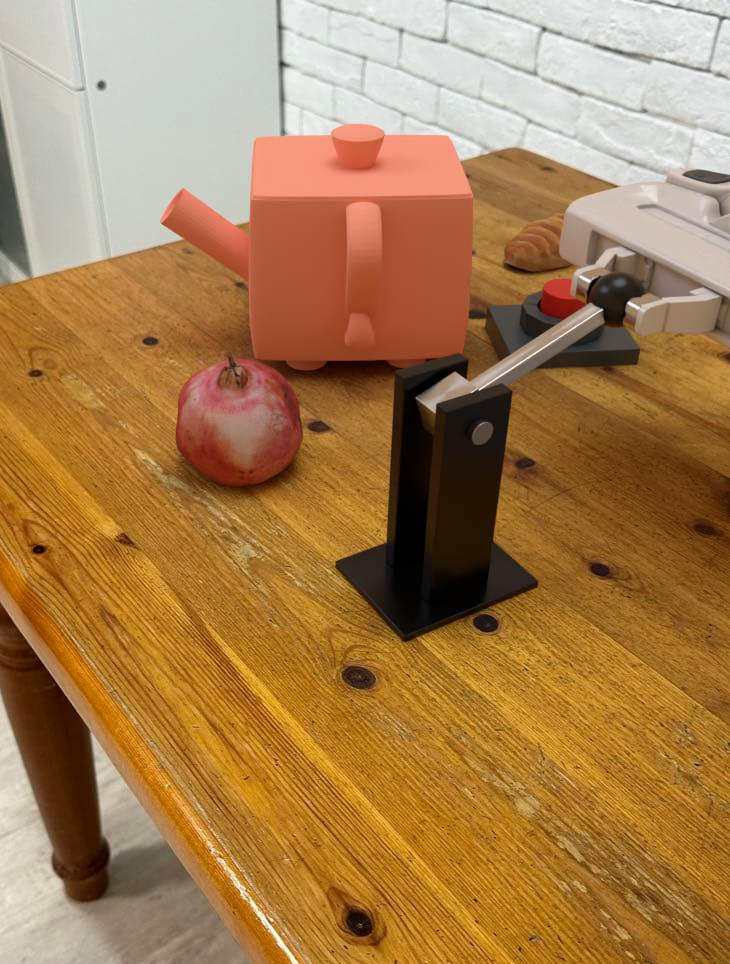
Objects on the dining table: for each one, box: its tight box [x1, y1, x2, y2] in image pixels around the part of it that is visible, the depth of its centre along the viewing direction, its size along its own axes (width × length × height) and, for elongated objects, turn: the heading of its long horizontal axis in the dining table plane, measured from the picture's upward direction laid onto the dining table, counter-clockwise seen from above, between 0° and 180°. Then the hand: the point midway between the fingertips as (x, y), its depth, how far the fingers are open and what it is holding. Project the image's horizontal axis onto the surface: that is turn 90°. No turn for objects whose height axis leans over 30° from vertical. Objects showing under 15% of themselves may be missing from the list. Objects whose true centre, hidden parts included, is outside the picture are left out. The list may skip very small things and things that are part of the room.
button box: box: [484, 289, 641, 370], centre depth 90 cm, size 11×9×4 cm
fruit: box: [175, 351, 304, 488], centre depth 73 cm, size 9×10×10 cm
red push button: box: [540, 278, 587, 319], centre depth 88 cm, size 4×4×2 cm
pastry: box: [503, 212, 573, 273], centre depth 105 cm, size 9×7×4 cm
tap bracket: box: [334, 353, 539, 643], centre depth 62 cm, size 10×8×15 cm
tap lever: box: [415, 271, 646, 436], centre depth 59 cm, size 15×3×3 cm, turn 120°
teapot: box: [159, 123, 474, 371], centre depth 87 cm, size 25×23×18 cm
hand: (604, 303), depth 60 cm, fingers closed on tap lever, 3 cm apart
